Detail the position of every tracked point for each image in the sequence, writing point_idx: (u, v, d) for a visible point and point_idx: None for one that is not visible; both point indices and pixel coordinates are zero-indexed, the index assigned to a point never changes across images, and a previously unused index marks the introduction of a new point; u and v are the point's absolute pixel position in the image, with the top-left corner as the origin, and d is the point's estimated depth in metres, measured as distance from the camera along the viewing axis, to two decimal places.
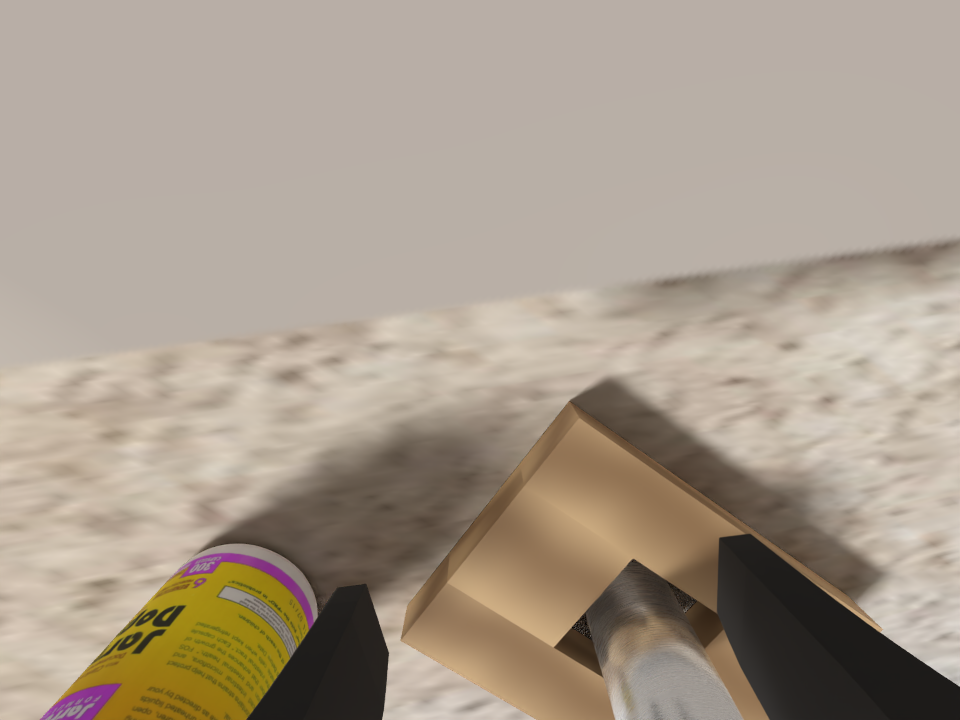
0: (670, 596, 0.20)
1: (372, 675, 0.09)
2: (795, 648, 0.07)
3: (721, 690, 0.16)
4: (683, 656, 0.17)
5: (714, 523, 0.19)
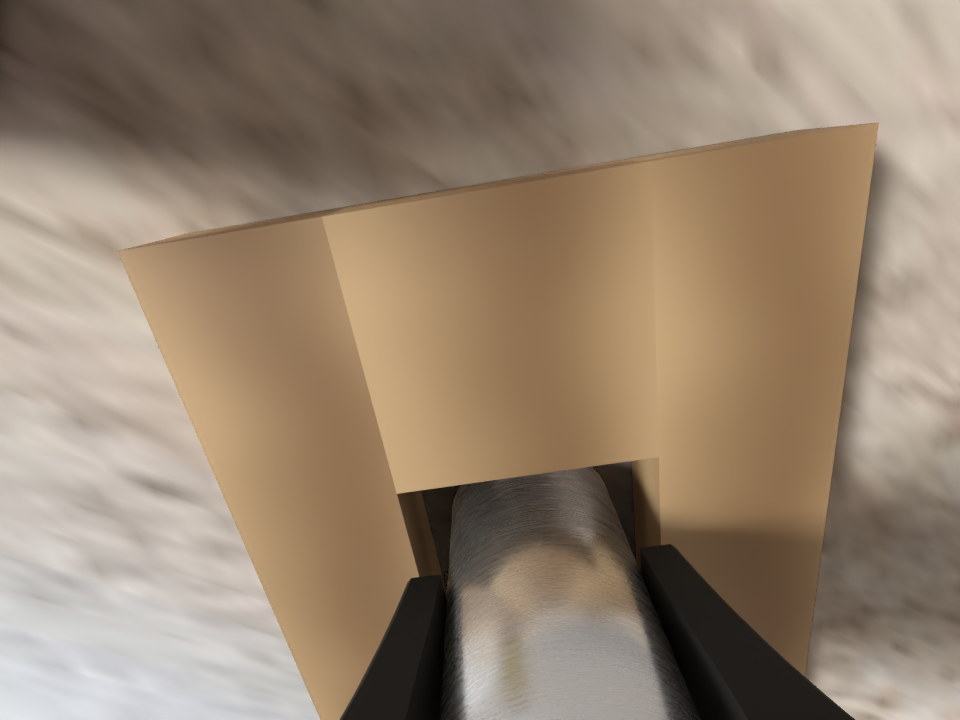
0: None
1: None
2: (693, 660, 0.08)
3: None
4: (679, 676, 0.07)
5: (810, 501, 0.10)
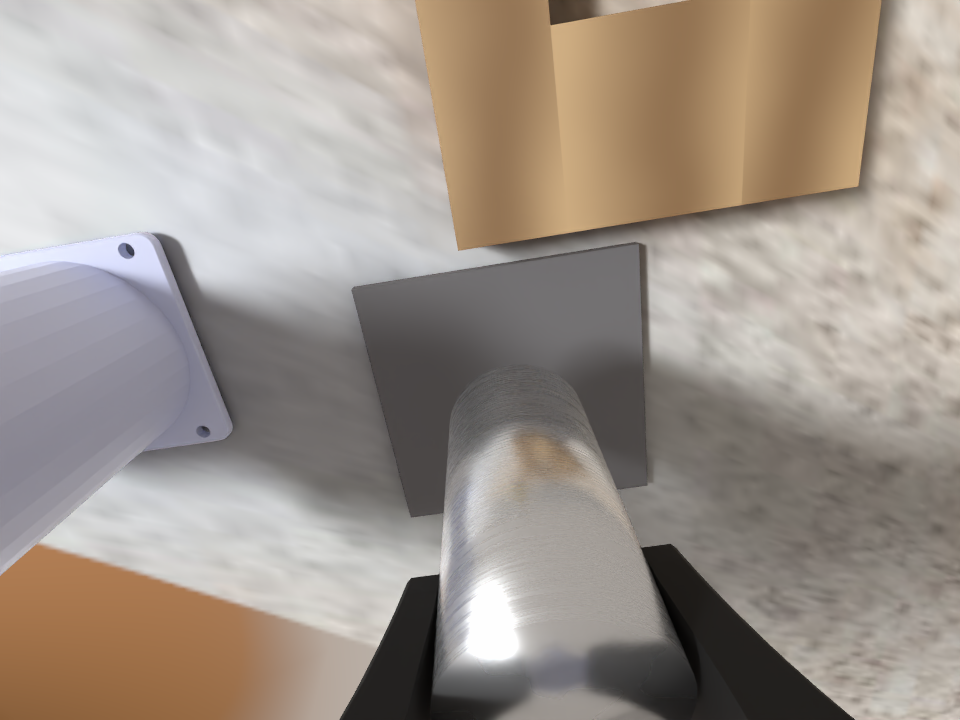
0: None
1: None
2: (694, 660, 0.08)
3: None
4: (630, 523, 0.10)
5: None
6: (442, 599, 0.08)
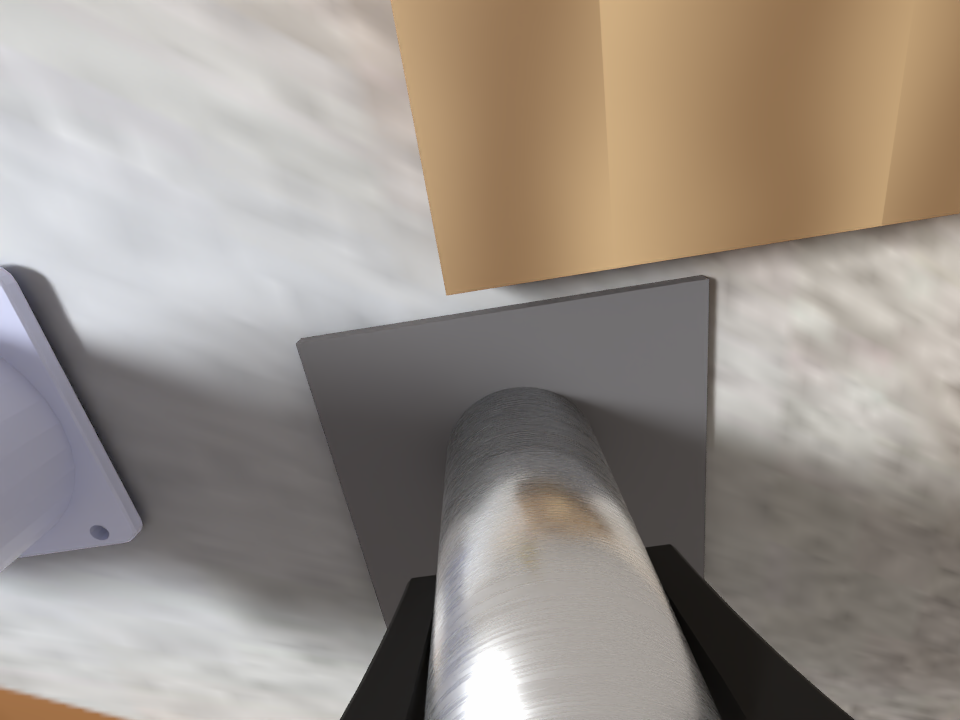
0: None
1: None
2: None
3: None
4: (656, 574, 0.08)
5: None
6: (433, 672, 0.07)
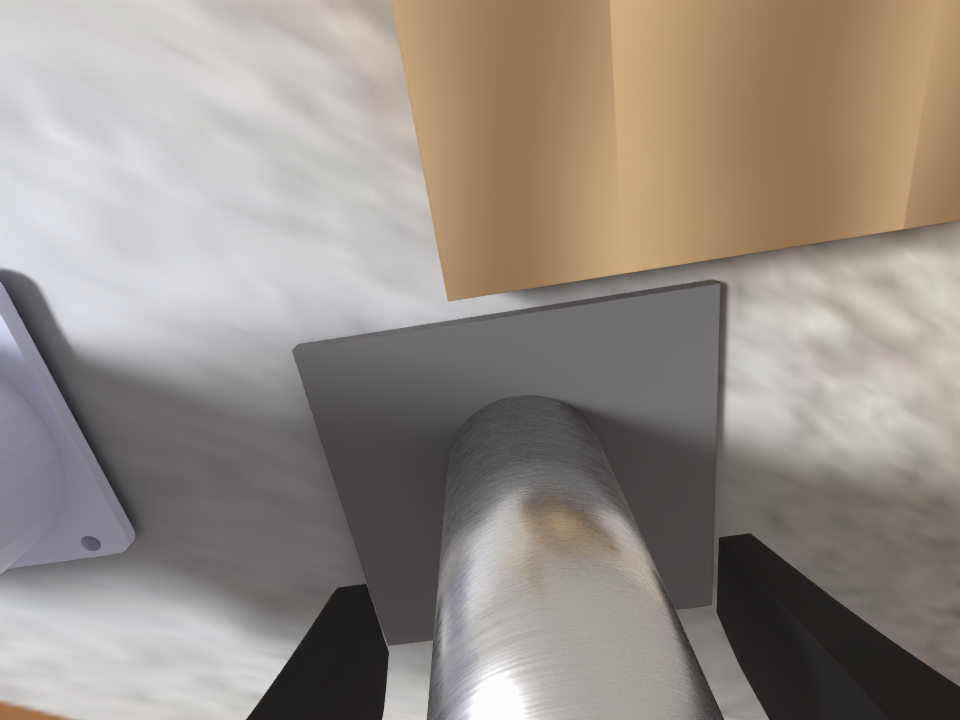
0: None
1: (372, 675, 0.09)
2: (795, 648, 0.07)
3: None
4: (668, 597, 0.08)
5: None
6: (433, 705, 0.06)
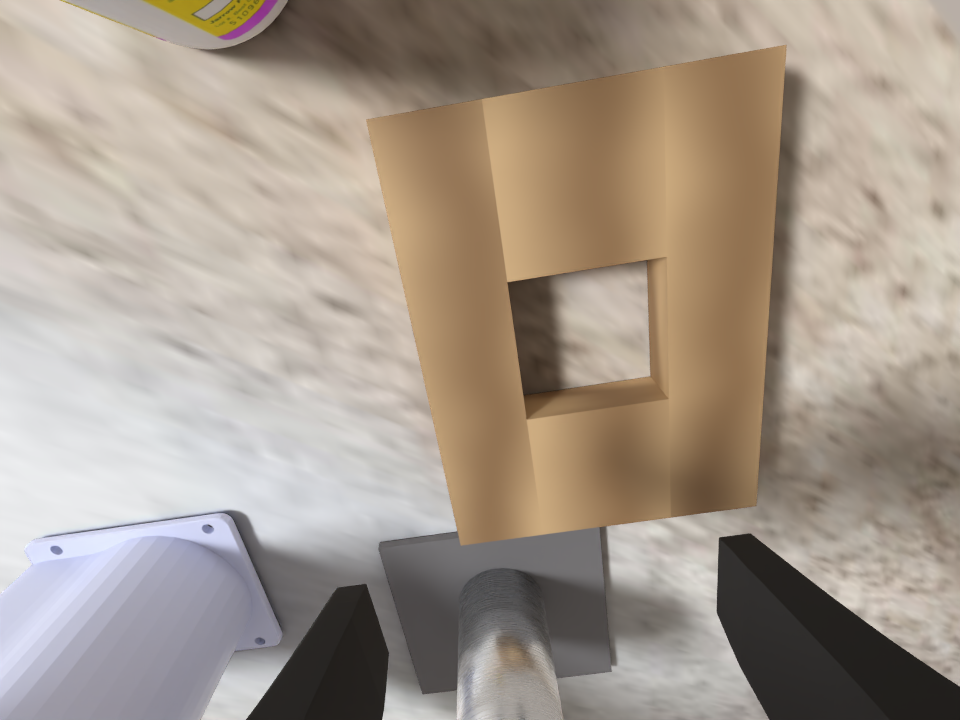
0: (547, 630, 0.22)
1: (372, 675, 0.09)
2: (795, 648, 0.07)
3: None
4: (556, 693, 0.18)
5: (759, 289, 0.16)
6: None
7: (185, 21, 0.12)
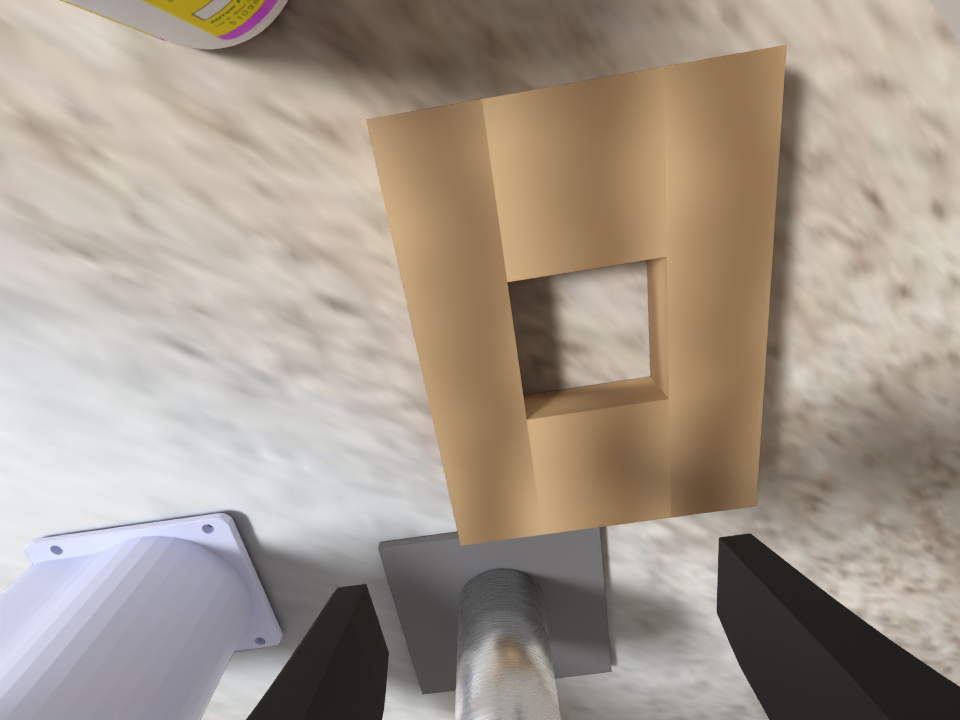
0: None
1: (372, 675, 0.09)
2: (795, 648, 0.07)
3: None
4: (554, 696, 0.18)
5: (759, 289, 0.16)
6: None
7: (185, 21, 0.12)
